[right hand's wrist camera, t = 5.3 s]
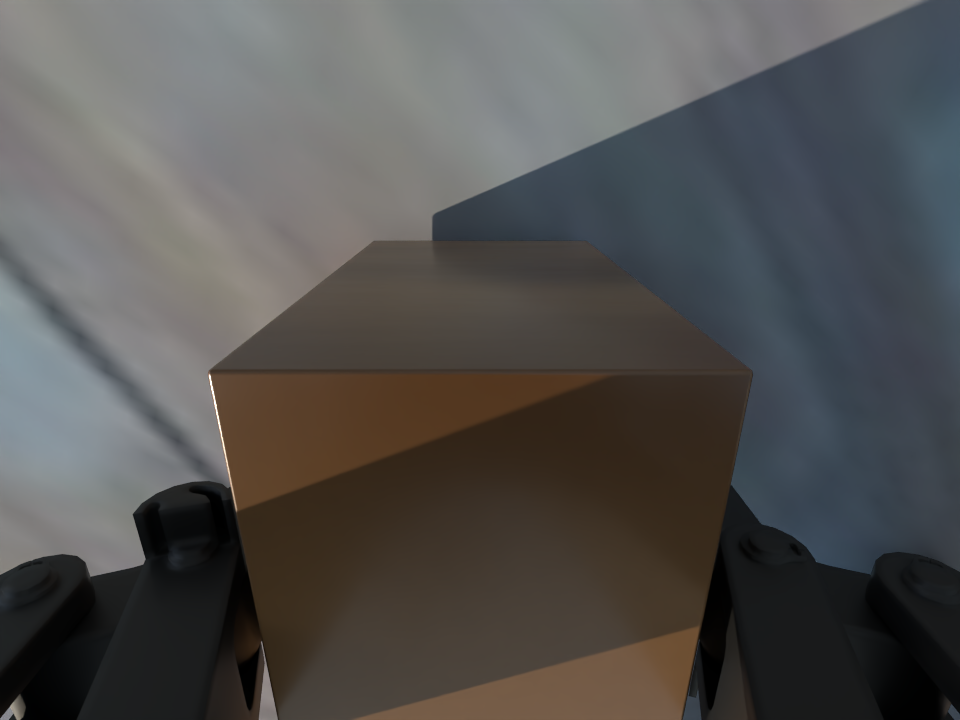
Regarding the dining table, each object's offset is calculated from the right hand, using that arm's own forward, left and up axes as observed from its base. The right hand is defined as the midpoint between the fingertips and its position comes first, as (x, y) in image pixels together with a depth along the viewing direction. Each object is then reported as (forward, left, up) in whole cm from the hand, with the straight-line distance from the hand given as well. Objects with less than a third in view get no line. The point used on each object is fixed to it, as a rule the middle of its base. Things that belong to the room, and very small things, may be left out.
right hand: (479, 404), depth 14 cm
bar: (+6, +3, -1) cm, 7 cm away
